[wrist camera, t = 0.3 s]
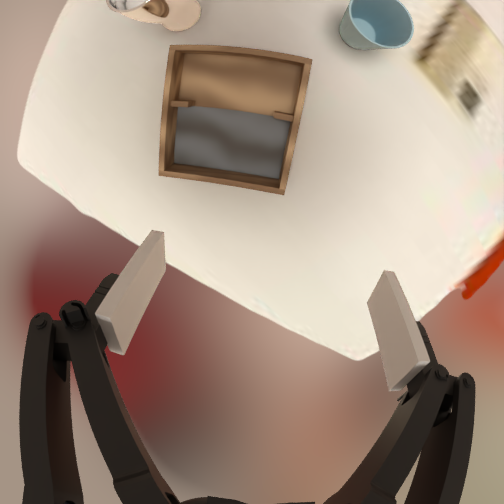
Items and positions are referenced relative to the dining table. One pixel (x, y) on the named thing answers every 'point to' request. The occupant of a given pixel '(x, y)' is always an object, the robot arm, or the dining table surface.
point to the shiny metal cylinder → (160, 12)
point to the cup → (376, 24)
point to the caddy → (231, 115)
